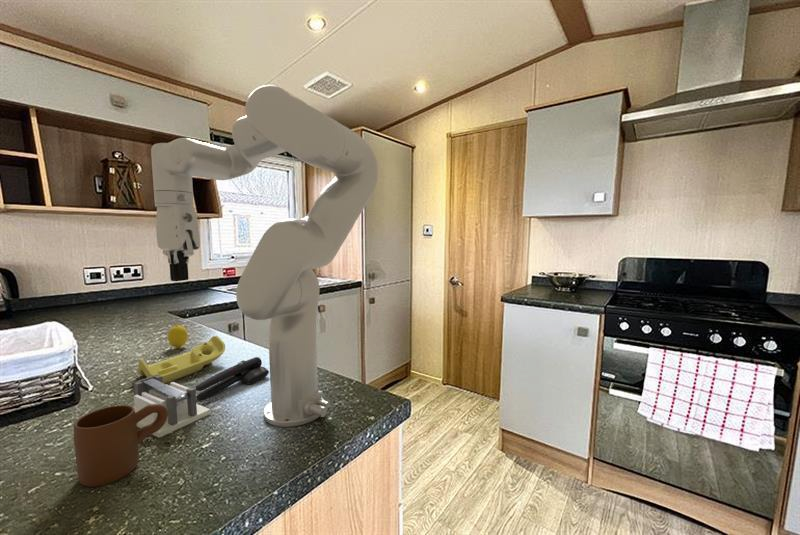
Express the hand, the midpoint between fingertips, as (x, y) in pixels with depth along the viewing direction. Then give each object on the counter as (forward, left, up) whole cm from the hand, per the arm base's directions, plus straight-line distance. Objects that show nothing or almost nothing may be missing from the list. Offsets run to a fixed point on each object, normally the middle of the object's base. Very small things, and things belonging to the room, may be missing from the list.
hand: (179, 280), depth 82 cm
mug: (-19, +20, -27) cm, 39 cm away
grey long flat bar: (-8, +9, -22) cm, 25 cm away
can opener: (-7, -7, -28) cm, 29 cm away
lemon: (+35, -17, -27) cm, 48 cm away
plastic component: (+14, -7, -28) cm, 32 cm away
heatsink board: (-8, +8, -27) cm, 29 cm away
